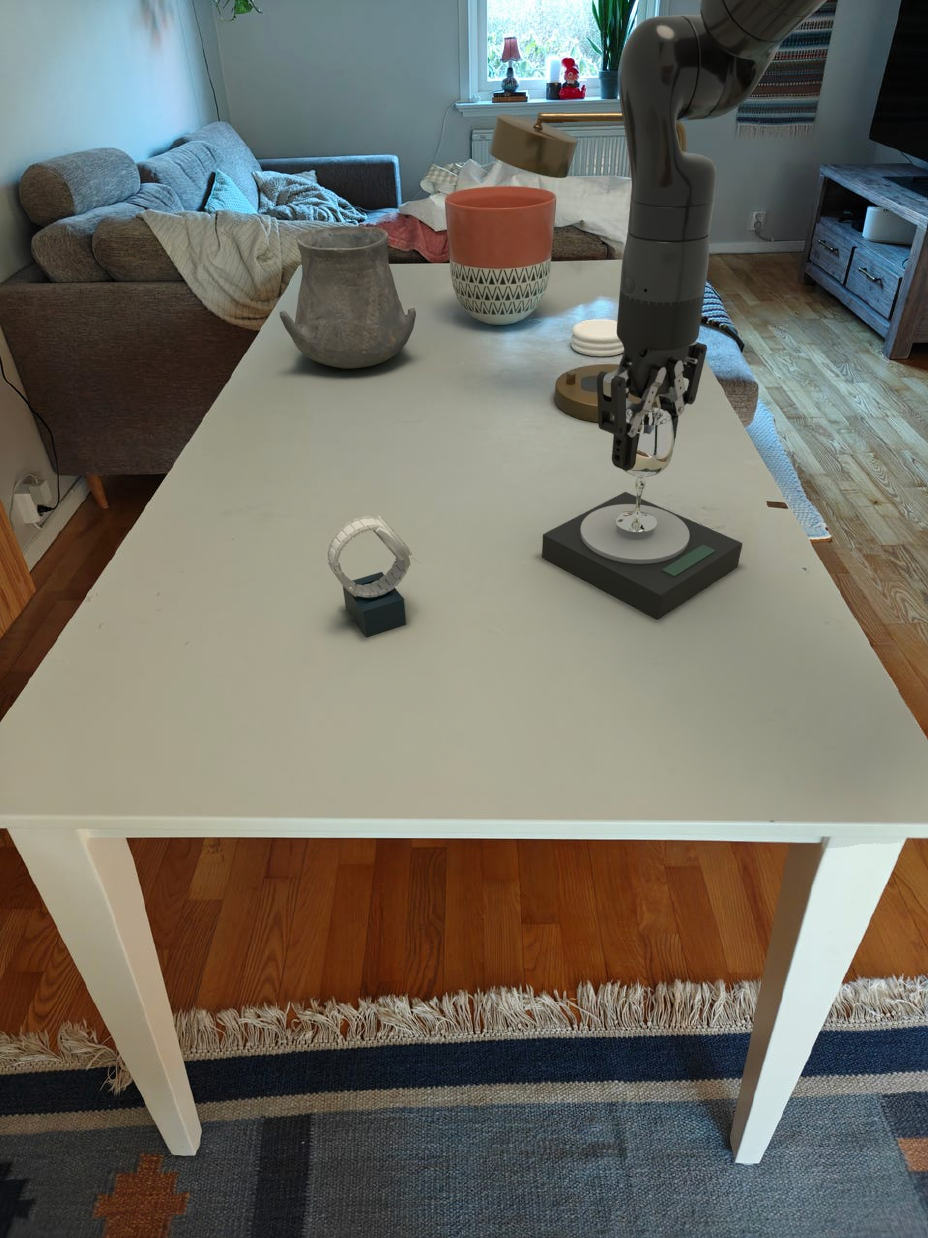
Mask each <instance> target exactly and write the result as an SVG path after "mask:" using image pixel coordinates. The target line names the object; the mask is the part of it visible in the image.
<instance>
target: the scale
mask: <svg viewBox="0 0 928 1238" xmlns="http://www.w3.org/2000/svg"><path fill="white" fill-rule="evenodd" d="M636 499H637V495H635V494H632V493H630V492H627V491H624V492H621V493H620V494H618V495H615V496H614V497H612V498H610V499H608V500H606V501H604V502H602V503H600V504H599V505H597V506H595V507H593V508H590V509H589V510H586V511H585V512H583V513H582V514H579V515H577V516H575V517H574V518H571V519H570V520H568V521H566V522H564V523H562V524H560V525H558V526H556V527H554V528H552V529H550V530H548V531H546V532H545V533H543V534H542V546H541V558H543V559H544V560H546V561H548V562H550V563H552V564H554V565H555V566H557V567H559V568H561V569H563V570H564V571H566V572H569V573H570V574H572V575H574V576H576V577H578V578H580V579H581V580H583V581H585V582H586V583H589V584H591V585H593V586H595V587H596V588H598V589H600V590H602V591H604V592H605V593H608V594H609V595H611V596H613V597H614V598H617V599H619V600H621V601H622V602H624V603H625V604H628V605H630V606H631V607H634V608H635V609H637V610H638V611H641V612H643V613H645V614H646V615H648V616H650V617H652V618H654V619H656V620H659V619H660V618H662V617H664V615H666V614H668V613H669V612H671V611H672V610H674V609H676V608H677V607H678V606H680V605H681V604H683V603H685V602H686V601H688V600H689V599H691V598H692V597H694V596H695V595H697V594H698V593H700V592H701V591H703V590H704V589H706V588H707V587H709V586H710V585H712V584H714V583H715V582H717V581H718V580H719V579H722V577H724V576H725V575H727V574H728V573H730V572H732V571H733V570H735V569H736V568H738V567H739V563H740V557H741V553H742V549H743V542H741V541H739V540H737V539H734V538H733V537H730V536H728V535H726V534H723V533H720V532H718V531H716V530H714V529H712V528H709V527H707V526H704V525H702V524H700V523H698V522H696V521H693V520H691V519H688V518H687V517H684V516H683V515H680V514H677V513H675V512H673V511H672V510H671V511H670V510H668V509H666V508H664V507H661V506H659V505H657V504H654V503H652V502H651V501H647V500H646V499H643V498H641V502H640V511H643V512H646V513H649V514H651V515H653V516H654V517H655V518H656V519H657V526H656V527H655V528H654V529H652V530H650V531H646V532H631V531H627V530H624V529H622V528H620V527H619V526H618V525H617V524H616V522H615V519H616V517H617V515H619V514H620V513H622V512H626V511H634V510H635V507H636Z"/></svg>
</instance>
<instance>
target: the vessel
mask: <svg viewBox="0 0 928 1238" xmlns="http://www.w3.org/2000/svg"><path fill="white" fill-rule="evenodd" d="M295 241H296V245H297V247H298V250H299V254H300V259H301V260H300V261H301V280H300V285H299V291H298V296H297V304H296V312H295V320H293V318H292V317H291V316H290V315H289V313H288V312H287V311H285V310H284V309H281V310H280V311H279V318H280V320H281V322H282V324H283V326H284V328H285V330H286V332H287V333H288V334H289V336H290V337H291V339H292V341H293V343H294V345H295V347H296V348H297V349H298V350H299V351H300V353H302V354H303V355H304V356H305V357H306V358H308V359H310V360H312V361H314V362H316V363H319V364H322V365H324V366H328V367H333V368H338V369H361V368H369V367H371V366H375V365H378V364H382V363H383V362H386V361H387V360H389V359H392V358H393V357H394V356H397V354H398V353H399V352H400V351H401V350H402V349H404V347H405V346H406V344H407V343H408V341H409V339H410V337H411V335H412V333H413V330H414V327H415V322H416V316H417V312H416V311H417V310H416V308H414V307H412V308H409V309H407V314H405V311H404V308H403V305H402V302H401V300H400V298H399V294H398V291H397V287H396V283H395V279H394V275H393V272H392V269H391V267H390V263H389V253H388V251H389V250H388V244H389V233H388V231H386V230H385V229H383V228H381V227H375V226H370V227H368V226H362V225H355V226H353V225H351V226H350V225H338V226H329V227H326V228H318V229H313V230H307V231H303V232H301V233H299V234H298V235H296V237H295Z"/></svg>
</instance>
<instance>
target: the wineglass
mask: <svg viewBox="0 0 928 1238" xmlns="http://www.w3.org/2000/svg"><path fill="white" fill-rule="evenodd" d="M631 416H632V410H630V409H629V410H627V412H626V422H629V421H630V418H631ZM636 435H637V444H636V454H635V463H634V468H632V469H630V470H628V471H625V470H623V471H624V472H625V473H626V474H628V475H631V476H634V477H637V478H636V479H635V482H634V483H635V487H634V488H635V491H636V497H637V499H636V507H635V510H634V511H626V512H622V513H620V514H619V515H617V517H616V519H615V522H616V524H617V525H618V526H619V527H620V528H622V529H624V530H627V531H631V532H646V531H650V530H652V529H654V528H655V527H656V526H657V519H656V518H655V517H654V516H653V515H651V514H649V513H646V512H643V511H640V502H641V499H642V495H643V492H644V488H645V487H646V478H648V477H654V476H657V475H659V474H661V473H662V472H664V471H665V469H667V467H668V466H669V464H670V462H671V460H672V457H673V455H674V447H675V443H674V431H673V423H672V417H671V414H670V413H669V412H667V411H665V410H663V409H660V408H656V407H651V409H650V411H649V413H648V414H646V415H644V416H643V417H642V420H641V423H640V426H639V428H638V431H637V434H636Z"/></svg>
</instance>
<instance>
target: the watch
mask: <svg viewBox="0 0 928 1238" xmlns="http://www.w3.org/2000/svg"><path fill="white" fill-rule="evenodd" d="M369 531H373V533H374V534H375V535H376V536H377V537H378V538H379V540H380V541H381V542H382V543H383V544H384V546H385V547H386V548H387V549H388V550H389V551H390V553H392V555H393V556H394V557H395V560H394V562H393V563H392V565H391V568H389V570H388V571H387V572H386V573H385V574H384V572H383V571H379V572H376V573H373V574H369V575H366V576H363V577H359V578H356V579H353V580H351V579H350V578H349V577H348V576H347V575H346V574H345V572H344V571H343V569H342V567H341V563H340V561H339V559H340V556H341V554H342V551H343V550H344V549H345V547H346V546H347V545H348V544H349V543H350V542H351V541H353V539H355V538H356V537H358V536H360V535H361V534H364V533H367V532H369ZM412 555H413V553H412V551H411V549H410V548H409V547H408V545H407V544H406V543H405V541H403V539H402V538H401V537H400V535H398V533H397V532H396V531H395V530H394V528H393V527H391V526H390V524H389V523H388V522H387V521H386V520H385V519H384V518H383V517H382V516H380V515H377V516H376V517H374V516H372V515H368V514H367V515H364V516H360V517H355V518H354V519H352V520H349V521H347V522H346V523H344V524H343V525H342V526H341V527H340V528H338V530H337V531H336V533H335V534H334V535H333V536H332V539H331V540H330V542H329V545H328V550H327V560H328V562H327V565H328V566H329V569H330V570H331V572H332V573H333V575H334V576H335V577H336V579H337V580H338V581H339V583H340V584H341V586H342V591H343V600H344V606H345V610H346V612H348V614H349V615H350V617H351V618H352V619H353V621H354V622H355V624H356V625H357V626H358V628H359V630H360V631H361V632H362V633H363V635H364V637H365V638H368V637H371V636H374V635H377V634H380V633H383V632H386V631H389V630H392V629H396V628H399V627H402V626H404V625H407V619H406V617H407V616H406V609H405V608H406V607H405V606H406V605H405V598H404V597H403V596H402V594H401V593H400V591H398V589H397V588H396V587H397V586H399V584H400V583H402V580H403V579H404V578H405V576H406V575H407V573H408V571H409V568H410V566H411V565H412V564H411V559H410V557H411V556H412Z"/></svg>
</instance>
